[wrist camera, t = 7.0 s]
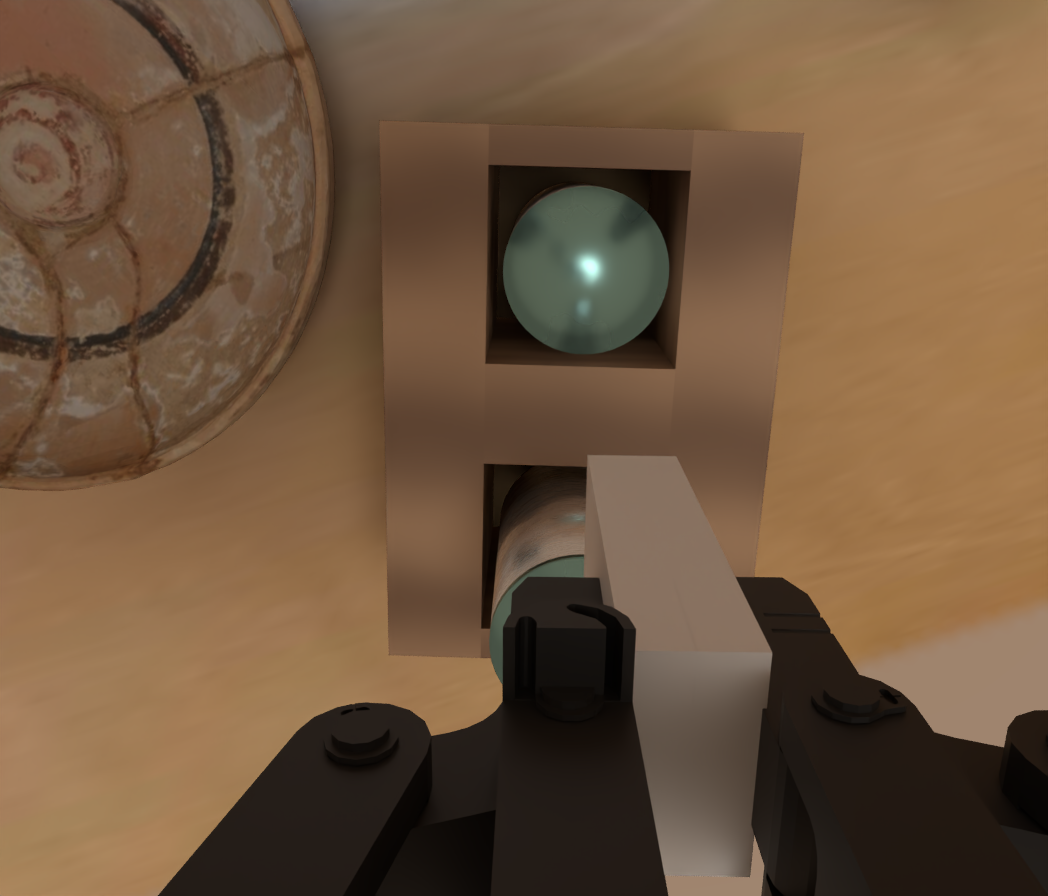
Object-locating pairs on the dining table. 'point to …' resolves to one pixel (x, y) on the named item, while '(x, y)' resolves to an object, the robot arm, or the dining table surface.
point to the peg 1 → (585, 268)
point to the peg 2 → (537, 538)
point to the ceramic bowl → (151, 226)
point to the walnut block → (559, 377)
